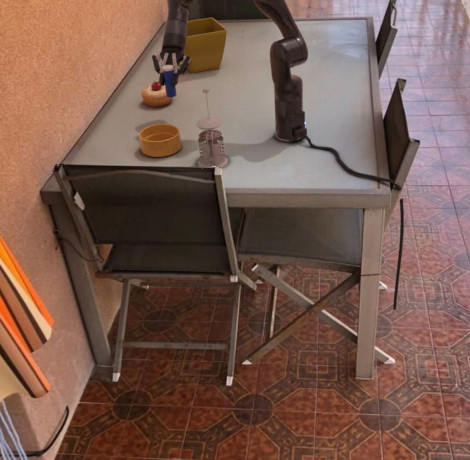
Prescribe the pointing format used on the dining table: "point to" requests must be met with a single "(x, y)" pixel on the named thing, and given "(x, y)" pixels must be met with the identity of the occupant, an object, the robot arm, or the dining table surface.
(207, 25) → the flower pot
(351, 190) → the dining table surface
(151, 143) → the bowl
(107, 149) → the dining table surface
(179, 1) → the robot arm
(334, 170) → the dining table surface
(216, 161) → the french press
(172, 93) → the vial
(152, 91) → the pastry
